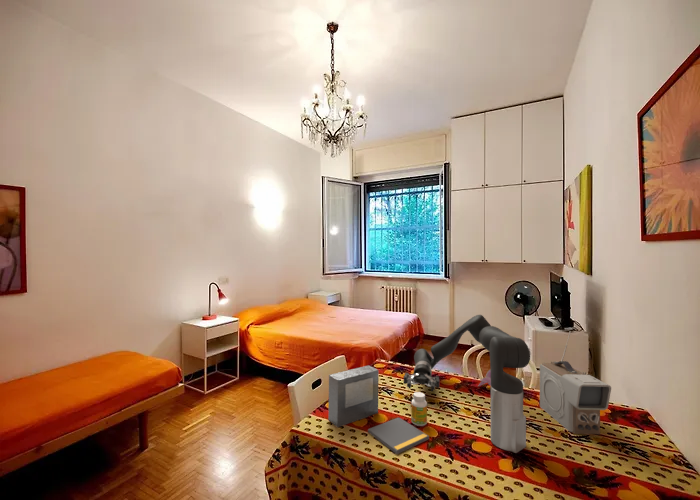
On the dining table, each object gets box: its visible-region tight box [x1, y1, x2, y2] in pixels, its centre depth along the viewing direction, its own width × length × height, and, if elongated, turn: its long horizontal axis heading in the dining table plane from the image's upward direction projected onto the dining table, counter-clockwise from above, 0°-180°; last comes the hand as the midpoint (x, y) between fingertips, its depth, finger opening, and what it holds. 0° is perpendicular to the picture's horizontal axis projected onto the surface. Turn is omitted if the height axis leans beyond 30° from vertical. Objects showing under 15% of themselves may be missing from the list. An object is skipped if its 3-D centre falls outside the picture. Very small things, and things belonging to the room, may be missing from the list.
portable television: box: [539, 331, 612, 435], centre depth 114 cm, size 12×24×30 cm, turn 178°
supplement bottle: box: [410, 391, 428, 427], centre depth 112 cm, size 5×5×10 cm
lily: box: [477, 369, 491, 387], centre depth 140 cm, size 12×12×10 cm
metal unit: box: [327, 364, 379, 428], centre depth 116 cm, size 7×18×16 cm, turn 124°
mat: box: [367, 417, 430, 455], centre depth 104 cm, size 14×14×1 cm
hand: (420, 387), depth 123 cm, fingers open, 8 cm apart
